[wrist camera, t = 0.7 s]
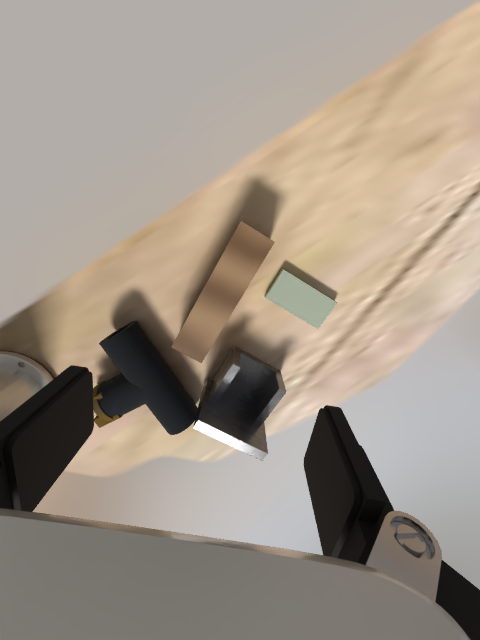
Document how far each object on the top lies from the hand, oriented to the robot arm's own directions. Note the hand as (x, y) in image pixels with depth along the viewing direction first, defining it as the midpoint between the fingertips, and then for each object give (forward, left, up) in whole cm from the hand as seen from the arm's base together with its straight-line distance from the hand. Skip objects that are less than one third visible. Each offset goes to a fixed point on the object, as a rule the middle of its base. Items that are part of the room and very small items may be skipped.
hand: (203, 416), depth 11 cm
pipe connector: (-18, +4, -25) cm, 31 cm away
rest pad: (+4, -8, -24) cm, 26 cm away
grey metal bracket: (-10, -8, -24) cm, 28 cm away
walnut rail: (0, +1, -25) cm, 25 cm away
